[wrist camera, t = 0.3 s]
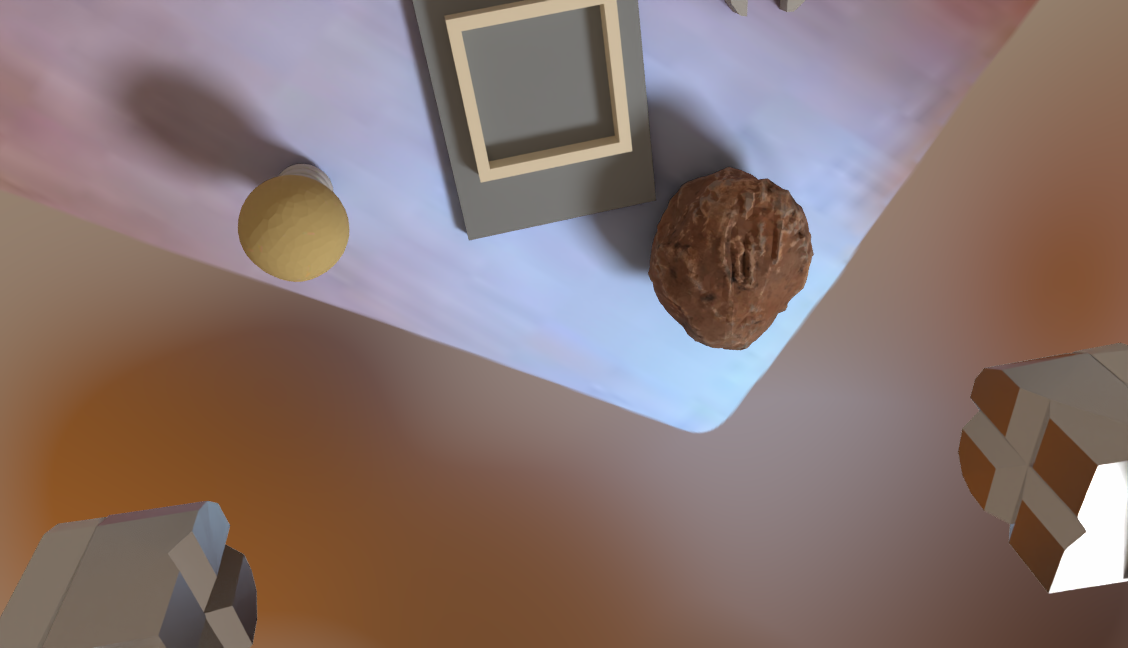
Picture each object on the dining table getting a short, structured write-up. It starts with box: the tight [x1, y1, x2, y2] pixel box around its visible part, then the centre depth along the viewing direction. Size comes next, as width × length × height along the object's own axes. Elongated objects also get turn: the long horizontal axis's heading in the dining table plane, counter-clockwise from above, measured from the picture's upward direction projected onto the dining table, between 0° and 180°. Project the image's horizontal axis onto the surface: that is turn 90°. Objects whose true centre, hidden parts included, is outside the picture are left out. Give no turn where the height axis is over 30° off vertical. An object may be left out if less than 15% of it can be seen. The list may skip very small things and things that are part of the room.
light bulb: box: [238, 164, 349, 282], centre depth 50 cm, size 6×6×10 cm
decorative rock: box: [648, 167, 814, 350], centre depth 58 cm, size 13×11×10 cm
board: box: [412, 0, 656, 240], centre depth 53 cm, size 20×14×2 cm
